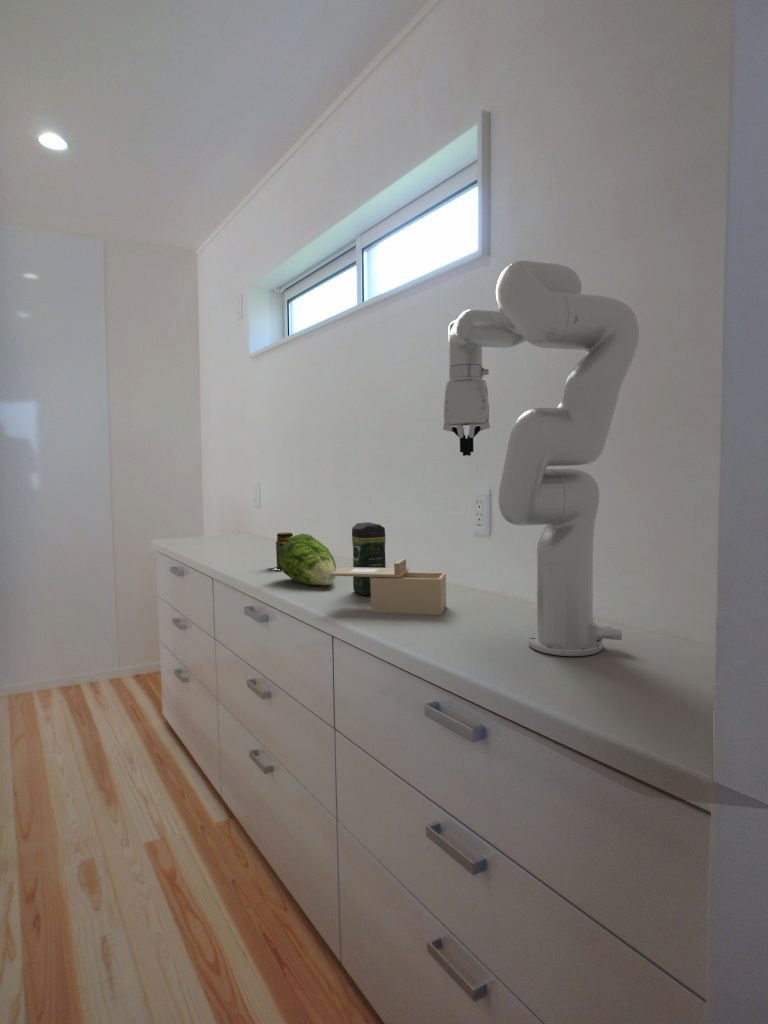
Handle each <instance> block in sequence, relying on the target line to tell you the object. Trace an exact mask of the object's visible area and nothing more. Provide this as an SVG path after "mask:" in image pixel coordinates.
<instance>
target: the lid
mask: <svg viewBox="0 0 768 1024" xmlns="http://www.w3.org/2000/svg"><path fill="white" fill-rule="evenodd" d="M393 565H394V566H393V567H386V568H368V567H353V566H349V567H348V566H342V567H340V568H338V569H336V571H334V572H332V573H331V576H335V577H353V576H358V577H402V576H403V575H404V574H405V573H406V572H410V571H409V568H407V558H403V557H402V558H400V559H398V560H397V561H395V562H394V563H393Z"/></svg>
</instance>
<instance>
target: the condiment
mask: <svg viewBox="0 0 768 1024" xmlns="http://www.w3.org/2000/svg"><path fill="white" fill-rule="evenodd" d="M293 536H294V534H293V532H278V533H277V534H276V542H275V550H276V551H275V553H276V554H275V556H276V567H269V568H267V570H269V569H274V568H277V569H280V570H281V571H280V572H283V569H282V567H281V565H280V552H281V549H282V547H283V545H284V544H285V543H286V542H287V540H289V539H290V538H292V537H293Z"/></svg>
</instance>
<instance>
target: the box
mask: <svg viewBox="0 0 768 1024" xmlns="http://www.w3.org/2000/svg"><path fill="white" fill-rule="evenodd" d="M446 573H447V572H424V571H423V572H422V571H418V572H417V571H416V572H411V571H408V572H406V573H405V574H404V575H403V576H402V577H371V578H370V585H371V595H370V613H371V614H374V613H375V614H398V615H399V614H400V615H404V614H405V615H424V616H425V615H426V616H442V615H443V613H444V611H445V610H446V608H447V574H446Z"/></svg>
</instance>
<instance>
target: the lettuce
mask: <svg viewBox="0 0 768 1024" xmlns="http://www.w3.org/2000/svg"><path fill="white" fill-rule="evenodd" d="M331 553H332V552H330V550H329V548H327V547H326V545H324V544H323V543H322V542H320V541H319V540H318V539H316V538H315V537H314V536H312V535H311V534H306V533H300V534H295V535H293V537H292V538H290V539H289V540H287V542H286V543H285V544H284V545H283V547H282V549H281V552H280V565H281V567H282V569H283V571H282V572H283V573H284V574H285V575H286V576H288V577H289V578H290V579H292V580H293V581H296V582H299V583H302V584H305V585H309V586H328V585H330V584H332V583H334V581H335V580H336V576H331V573H332V572H334V571H336V570H337V565H336V561H335V559H334V556H333V555H332V554H331Z"/></svg>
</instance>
